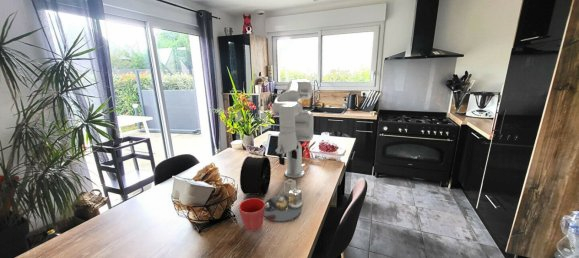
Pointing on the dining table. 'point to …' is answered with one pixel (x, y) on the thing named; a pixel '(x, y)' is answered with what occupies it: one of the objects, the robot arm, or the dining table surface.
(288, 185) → the open ended square duct
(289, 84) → the robot arm
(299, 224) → the dining table surface
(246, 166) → the car wheel rim
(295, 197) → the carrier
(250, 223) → the flower pot
